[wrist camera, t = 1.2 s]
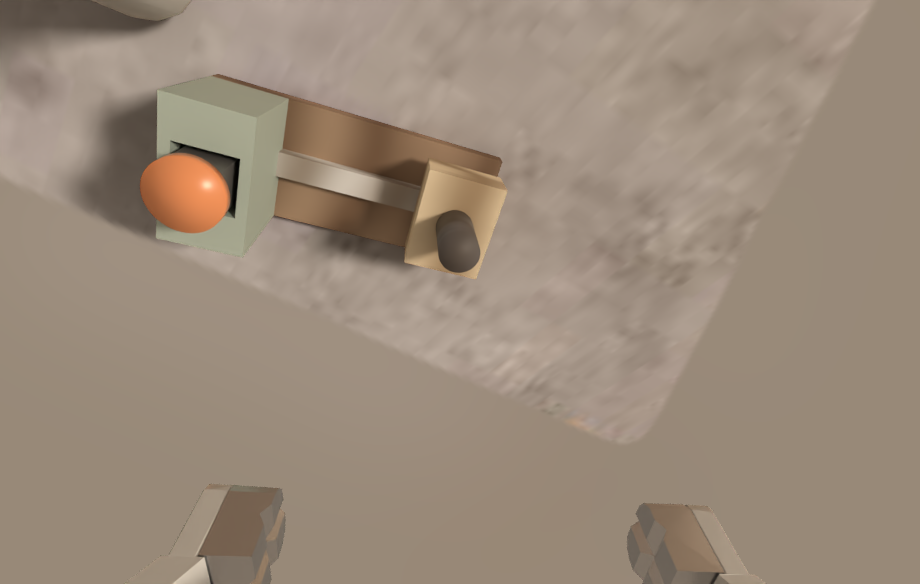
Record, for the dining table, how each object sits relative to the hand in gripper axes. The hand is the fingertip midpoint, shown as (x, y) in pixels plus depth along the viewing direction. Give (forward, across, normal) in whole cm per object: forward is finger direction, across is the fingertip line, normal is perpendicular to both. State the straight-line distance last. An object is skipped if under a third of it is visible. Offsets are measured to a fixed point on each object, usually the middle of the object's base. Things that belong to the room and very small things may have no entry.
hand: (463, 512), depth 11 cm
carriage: (+25, 0, +1) cm, 25 cm away
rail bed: (+27, +7, 0) cm, 28 cm away
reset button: (+20, +13, -2) cm, 25 cm away
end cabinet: (+25, +14, -2) cm, 29 cm away
